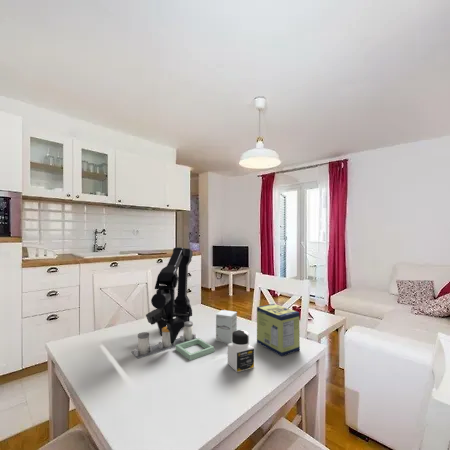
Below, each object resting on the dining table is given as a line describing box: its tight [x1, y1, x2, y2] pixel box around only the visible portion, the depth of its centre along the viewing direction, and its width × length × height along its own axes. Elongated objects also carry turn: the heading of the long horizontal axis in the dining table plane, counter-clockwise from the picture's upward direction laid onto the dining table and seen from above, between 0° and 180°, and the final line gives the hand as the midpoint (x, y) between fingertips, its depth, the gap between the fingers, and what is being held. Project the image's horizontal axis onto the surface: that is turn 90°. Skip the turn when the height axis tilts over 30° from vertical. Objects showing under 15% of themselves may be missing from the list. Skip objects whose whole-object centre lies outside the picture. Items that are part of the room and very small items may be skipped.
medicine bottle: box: [227, 329, 255, 373], centre depth 93 cm, size 7×7×12 cm
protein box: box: [256, 303, 301, 357], centre depth 109 cm, size 10×16×16 cm
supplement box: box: [215, 309, 238, 346], centre depth 114 cm, size 7×7×13 cm
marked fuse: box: [161, 326, 172, 348], centre depth 106 cm, size 4×4×7 cm
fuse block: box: [131, 321, 197, 359], centre depth 106 cm, size 27×7×8 cm, turn 129°
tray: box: [175, 337, 215, 361], centre depth 102 cm, size 11×11×3 cm
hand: (167, 339), depth 107 cm, fingers open, 9 cm apart
